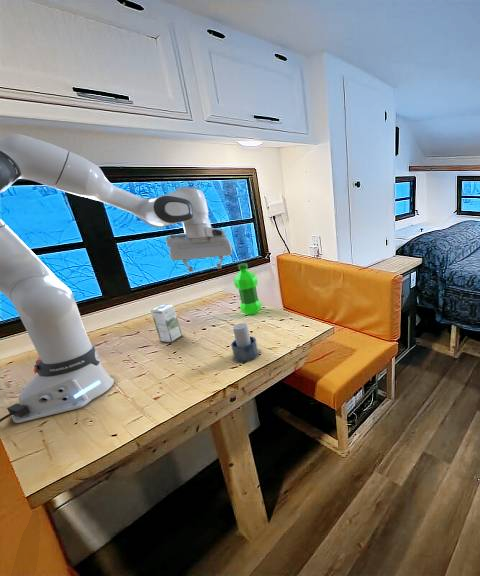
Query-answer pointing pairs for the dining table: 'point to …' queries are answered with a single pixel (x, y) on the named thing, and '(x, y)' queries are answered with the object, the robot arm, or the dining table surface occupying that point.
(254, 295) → the plastic bottle
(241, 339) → the beverage can
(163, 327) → the syrup box
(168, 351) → the dining table surface
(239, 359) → the can holder
